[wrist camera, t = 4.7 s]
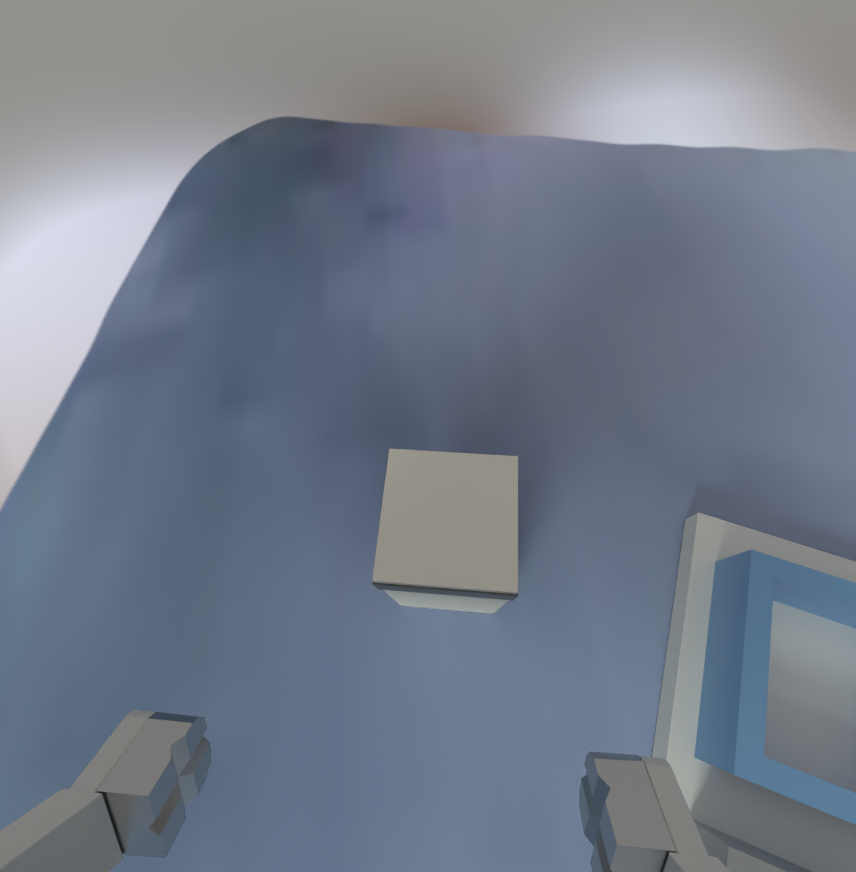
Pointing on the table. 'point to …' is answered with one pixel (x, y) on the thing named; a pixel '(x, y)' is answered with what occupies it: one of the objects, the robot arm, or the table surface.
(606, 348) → the table surface
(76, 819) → the robot arm
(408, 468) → the plug
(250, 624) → the table surface
